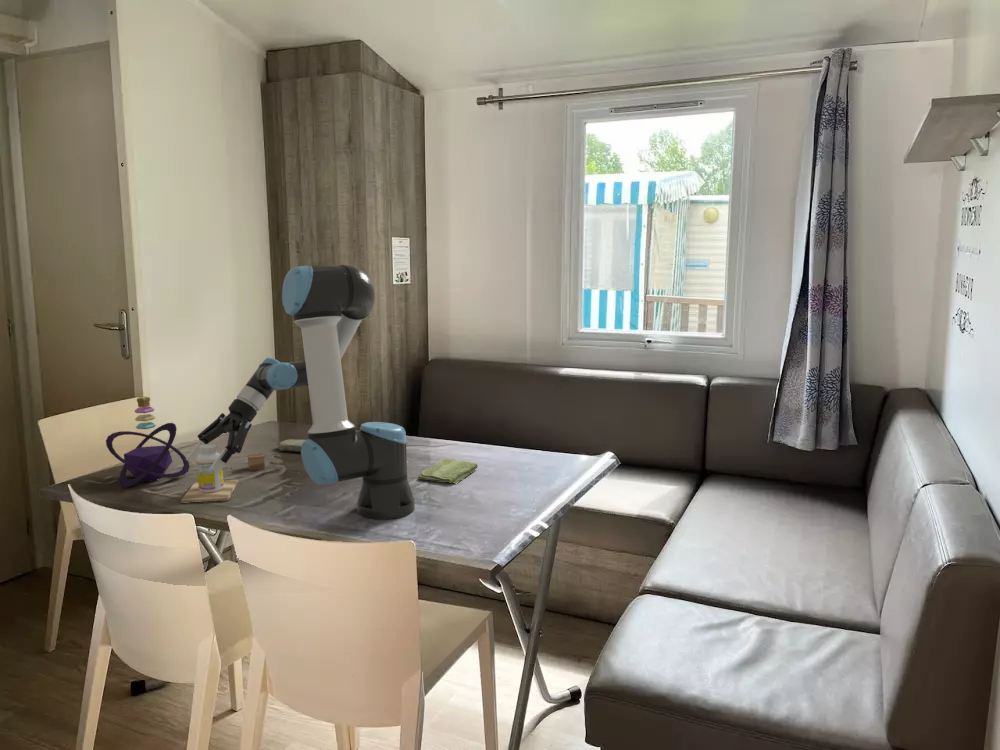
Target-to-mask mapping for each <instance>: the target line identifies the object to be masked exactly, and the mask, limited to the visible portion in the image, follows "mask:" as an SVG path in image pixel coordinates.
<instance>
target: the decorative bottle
mask: <svg viewBox="0 0 1000 750" xmlns="http://www.w3.org/2000/svg"><path fill="white" fill-rule="evenodd" d="M136 402H137V408H136V409H135V410H134V414H135V413H136V414H139V415H138V416H137V417H136V418H135V419H134V421H136V422H140V423H139V424H137V425H136V426H135V429H137V430H149V429H153V428H155V427H156V426H157V424H155V423H153V422H151V421H152V420H155V419H156V417H155V416H154V415H152V414H149V413H152V412H154V411H155V408H153V407H152V406H150V404H151V403H150V402H151V397H149V396H139V397H137V398H136ZM163 431H168V433H169V437H168V441H167V442H166V441H165V440H162V439H161V438H157V437H156V436H155V435H157V434H158V433H161V432H163ZM124 435H125V436H126V435H128V436H129V435H131V436H132V435H133V436H141V437H145V438H143V440H142V441H141V442H139V444H138V445H137V446H136V447H135V448H134V449H131V450H130V451H128V452H125V453H124V454H123V458H122V457H121V456H120V454H118V453H117V452H116V450H115V448H114V446H113V441H114V440H115V439H116V438H118V437H120V436H124ZM176 435H177V425H176V424H175V423H174V422H167V423H165V424H162V425H161V426H159V427H157V428H156V429H154V430H153V431H152V432H150V433H149V434H145V433H142V432H138V431H136V432H135V431H129V430H128V431H127V430H126V431H120V430H119V431H116V432H112V433H111V434H110V435H108V436H107V437H106V440H105V444H106V447H107V450H108V451H109V452H110V453H111V455H112V456H113V457H114V458H115V459H116V460H118V461H119V462H121V463H123V464H124V465H123V466H122V468H121V471H120V472H119V473H120V474H119V477H118V484H119V486H120V487H121V488H125V489H126V488H130V487H131V486H134V485H136V484H138V483H139V482H143V483H145V482H144V481H147V482H151V481H150V480H155V481H158V480H157V479H159V480H160V479H161V478H178V477H182V476H185V475H186V474H187V473H188V472H189V470H190V462H189V461H187V460H186V458H187V457H186V456H185V455H184V453H182V451H180V450H179V449H178V448H176V447H175V446H173V442H174V440H175V437H176ZM150 439H151V440H154V441H156V442H159V443H160V444H162V445H153V446H144V445H145V444H146V443H147V442H148V441H149V440H150ZM170 449H171V450H173V451H174V452H175V453H176V454H177V455H178V456H179V458H180V459H181V460H182V463H183V467H182V468H181V470H179V471H177V472H174V473H166V471H167V470H168V469H169V467H170V465H171V464H172V463H173V458H172V455H171V451H170ZM127 471H129V473H131V474H132V475H133V476H134V478H127Z"/></svg>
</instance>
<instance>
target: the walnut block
mask: <svg viewBox="0 0 1000 750" xmlns="http://www.w3.org/2000/svg"><path fill="white" fill-rule="evenodd" d="M265 464H266V463H265V455H264V453H263V452H253V453H247V465H248V467H249V468H248V470H250V471H249V472H255V471H254V470H258V471H265V470H264V469H266V467H265Z"/></svg>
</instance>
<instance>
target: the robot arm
mask: <svg viewBox="0 0 1000 750" xmlns="http://www.w3.org/2000/svg"><path fill="white" fill-rule="evenodd" d="M374 287H375V286H374V285H373V283H372V280H371V279H370V277H369V276H368V275H367V274H366V273H365V272H364V271H363V270H362V269H360V268H358V267H357V266H353V265H350V264H339V265H337V264H336V265H335V264H334V265H333V264H331V265H329V264H328V265H327V264H326V265H324V264H323V265H322V264H321V265H319V264H316V265H313V264H311V265H310V264H308V265H301V266H300V265H299V266H294V267H292V268H290V269H289V271H287V273H286V275H285V277H284V280H283V283H282V291H281V301H282V307H284V311H285V313H286V314H288V315H290V316H292V317H293V323H294V324H295V325H297V326H298V327H299V328H300V330H301V336H302V338H301V339H302V345H303V353H304V360H299V361H290V362H288V361H287V362H280V361H279V360H278V359H275V358H272V357H266V358H265V359H264V360H263V361H262V363H260V364H259V366H258V367H257V369H256V370H255V372H253V374H252V375H251V376H250V378H249V380H248V381H247V382H246V384H245V385H243V388H242V389H240V391H239V393H238V394H237V395H236V397H237V398H235V399H233V401H232V402H231V404H229V406H228V411H229V413H228V415H226V414H225V413H223V412H222V413H221V414H220V415H219V416H218V417H217V418H216V419H215V420H214V421H212V423H210V424H209V425H208V426H207V427H205V428H204V429H203V430H202V431H201V432H200V433H198V435H197V438H198V440H199V441H198V442H197V443H196V445H195V446H194V448H193V449H192V450H191V452H190V453H189V454H188V455H187V457H186V460H187V461H188V462H189V464H192V465H195V464H197V461H196V459H197V456H198V455H200V451H199V446H201V445H204V444H210V443H211V442H212V441H214V440H215V439H217V438H218V437H220V436H221V435H223V434H227V433H228V439H227V445H226V446H225V447H224V448H223V450H222V451H220V455H219V456H218V458H217V459H216V460H215V462H214V463H213V464H212V466H211V467H210V469H211V470H213V471H214V472H215V473H217V474H218V473H219V472H220V471H221V469H222V468H224V466H225V465H226V464H227V463H228V462H229V460H230V458H231V457H232V456H233V455H235V454H236V453H237V454H240V453H241V452H242V449H243V447H244V444H245V441H246V439H247V435H248V433H249V431H250V429H251V427H252V426H253V424H252V423H251V422H252V421H253V420H254V418H255V417H256V416H257V414H258V412H259V411H260V410H261V408H262V407H264V405H265V403H266V401H268V399H269V398H270V396H271V395H272V394H273V392H274V391H283V390H288V389H295V388H303V387H308V393H309V394H308V395H309V400H310V401H309V403H310V409H311V410H310V411H311V418H312V426H311V427H310V428H309V429H308V431H307V437H308V439H304V440H305V441H304V442H303V443H302V446H301V447H302V449H301V452H300V453H301V454H300V456H301V461H302V464H303V467H304V469H305V471H306V474H307V475H308V477H309V479H311V481H312V482H314V483H315V484H316V485H320V486H321V485H322V486H325V485H330V484H333V485H334V484H337V483H340V482H346V481H349V480H355V479H359V478H362V483H361V486H360V487H361V488H360V489H359V490H360V491H359V494H358V498H357V501H356V512H357V514H358V515H360V516H361V517H363V518H367V519H373V520H390V519H397V518H401V517H404V516H407V515H409V514H411V513H413V512H414V510H415V509H416V504H415V498H414V497H415V496H414V495H413V492H412V490H411V487H410V483H409V481H408V457H407V456H408V455H407V454H408V453H407V445H408V441H407V435H406V430H405V428H404V427H403V426H401V425H399V424H396V423H390V422H383V421H381V422H380V421H370V422H369V421H368V422H367V421H366V422H364V423H361V424H360V427H359V430H360V431H359V430H358V431H356V425H355V424H354V423H352V422H351V421H350V420H349V418H348V408H347V402H346V401H347V399H346V392H345V391H346V390H345V385H344V384H345V383H344V376H343V368H342V367H343V366H342V361H341V360H342V358H343V356H344V355H345V353H346V351H347V349H348V346H349V345H350V343H351V341H352V339H353V338H354V336H355V334H356V332H357V330H358V328H359V326H360V325H361V323H362V321H363V320H366V319H367V318H368V316H369V315H370V314H371V312H372V310H373V307H374V304H375V297H376V293H375V288H374Z"/></svg>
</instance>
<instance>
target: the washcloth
mask: <svg viewBox="0 0 1000 750" xmlns="http://www.w3.org/2000/svg"><path fill="white" fill-rule="evenodd" d="M478 467H479V465H478V463H476V462H473V461H466V460H458V459H457V460H456V459H455V458H454V459H453V458H448V457H444V458H442V459H441V460H440V461H438V462H436V463H435V464H433V465H431V466H430V467H428V468H426V469H424V470H422V471H421V473H419V474H418V476H417V479H419V480H422V481H428V480H431V481H430V482H435V481H437V483H446V482H449V483H448V484H452V483H451V482H455V483H457V482H459V481H460V480H462V479H463V478H464V479H466V478H467V477H469V476H470V475H471V474H470V473H472V472H473V471H474V470H475V469H476V468H477V469H478ZM474 472H475V471H474ZM474 472H473V473H474ZM473 473H472V474H473ZM469 474H470V475H469ZM468 475H469V476H468ZM466 476H467V477H466ZM465 477H466V478H465ZM464 479H463V480H464ZM463 480H462V481H463ZM460 482H461V481H460ZM460 482H459V483H460ZM457 484H458V483H457Z"/></svg>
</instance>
